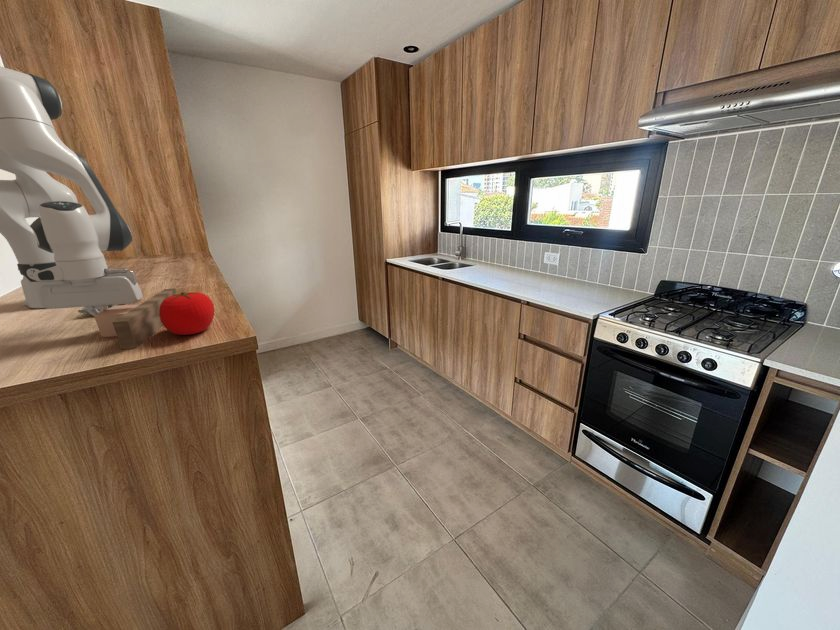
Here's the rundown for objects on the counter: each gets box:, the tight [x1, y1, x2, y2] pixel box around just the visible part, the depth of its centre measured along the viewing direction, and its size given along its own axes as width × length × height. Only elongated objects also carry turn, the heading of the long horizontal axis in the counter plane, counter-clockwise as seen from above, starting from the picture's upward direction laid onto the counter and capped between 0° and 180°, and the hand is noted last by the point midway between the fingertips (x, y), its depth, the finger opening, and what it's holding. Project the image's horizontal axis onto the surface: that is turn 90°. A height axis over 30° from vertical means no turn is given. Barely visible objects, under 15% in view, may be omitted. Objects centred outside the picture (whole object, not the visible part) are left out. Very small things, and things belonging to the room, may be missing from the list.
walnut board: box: [112, 288, 178, 350], centre depth 91 cm, size 30×3×7 cm, turn 17°
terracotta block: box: [93, 303, 141, 338], centre depth 89 cm, size 8×8×6 cm
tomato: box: [159, 291, 215, 336], centre depth 87 cm, size 12×13×11 cm
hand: (102, 321), depth 87 cm, fingers closed
